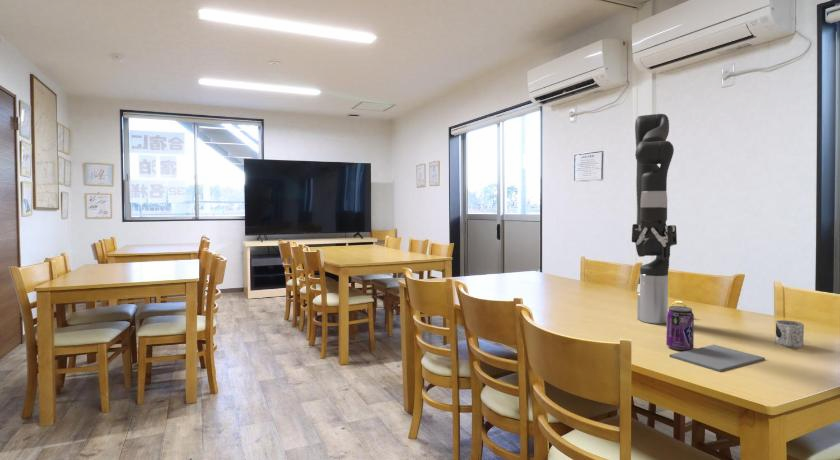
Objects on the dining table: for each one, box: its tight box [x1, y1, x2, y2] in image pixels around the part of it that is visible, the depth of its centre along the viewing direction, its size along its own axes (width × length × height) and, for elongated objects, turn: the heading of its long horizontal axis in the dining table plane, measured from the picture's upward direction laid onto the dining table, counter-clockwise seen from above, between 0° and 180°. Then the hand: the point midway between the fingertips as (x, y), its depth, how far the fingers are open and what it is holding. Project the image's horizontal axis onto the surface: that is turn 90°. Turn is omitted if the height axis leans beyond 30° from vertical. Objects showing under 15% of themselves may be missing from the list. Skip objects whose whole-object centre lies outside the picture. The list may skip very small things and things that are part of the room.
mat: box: [669, 344, 766, 373], centre depth 133 cm, size 14×20×1 cm
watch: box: [670, 300, 688, 307], centre depth 182 cm, size 6×3×6 cm, turn 53°
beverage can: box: [665, 305, 695, 351], centre depth 143 cm, size 7×7×12 cm
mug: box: [775, 319, 805, 349], centre depth 144 cm, size 10×7×7 cm, turn 141°
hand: (653, 257), depth 151 cm, fingers open, 8 cm apart
